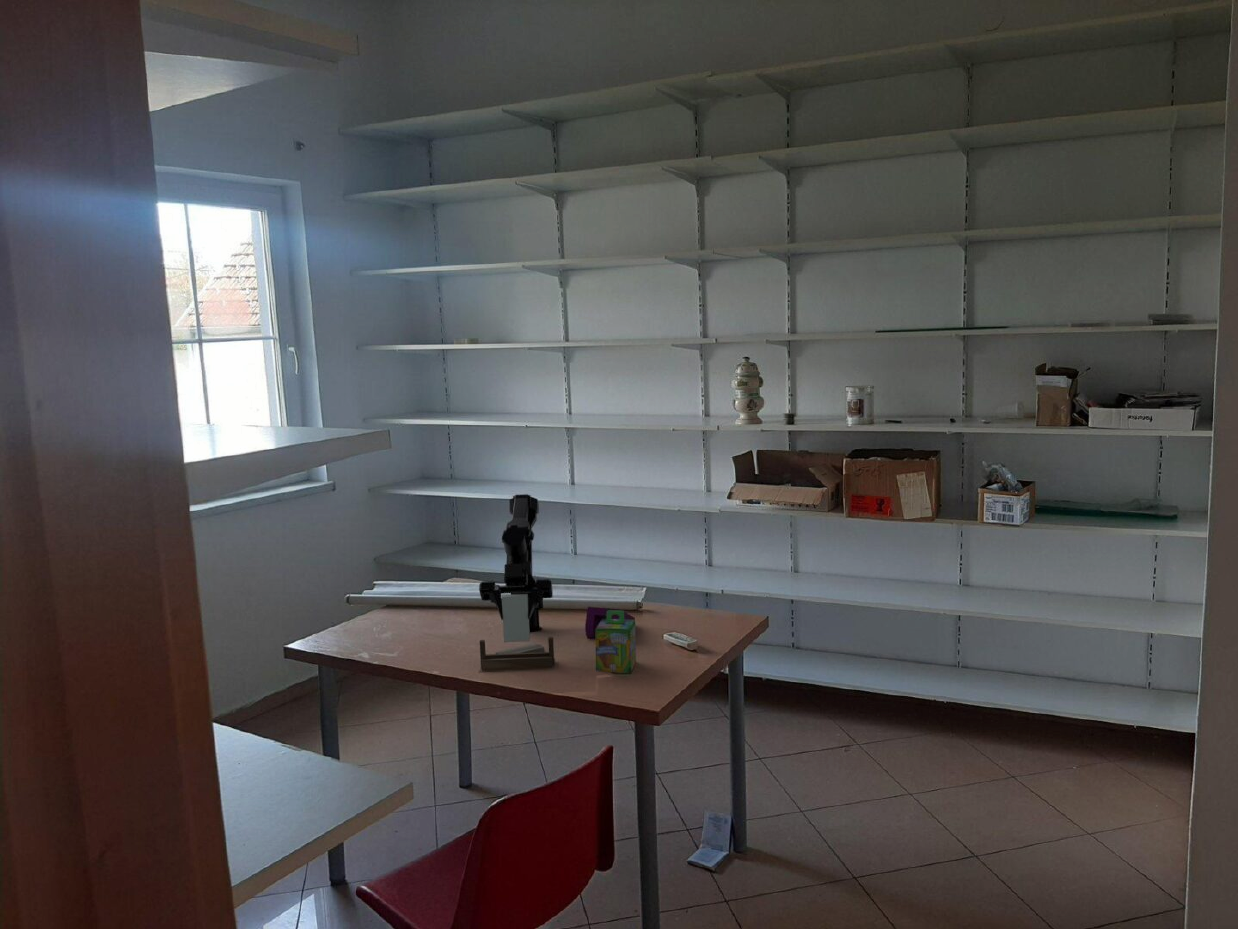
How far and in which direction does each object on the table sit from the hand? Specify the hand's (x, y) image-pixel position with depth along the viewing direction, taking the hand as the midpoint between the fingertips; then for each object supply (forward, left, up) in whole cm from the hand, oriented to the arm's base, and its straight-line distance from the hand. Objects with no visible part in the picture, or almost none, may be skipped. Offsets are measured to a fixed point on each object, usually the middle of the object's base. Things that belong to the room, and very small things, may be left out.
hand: (515, 618), depth 236 cm
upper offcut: (-4, -7, -12) cm, 15 cm away
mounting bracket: (-35, -11, -14) cm, 39 cm away
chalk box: (-21, +14, -14) cm, 29 cm away
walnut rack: (0, 0, -13) cm, 13 cm away
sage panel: (-1, -1, -6) cm, 6 cm away
